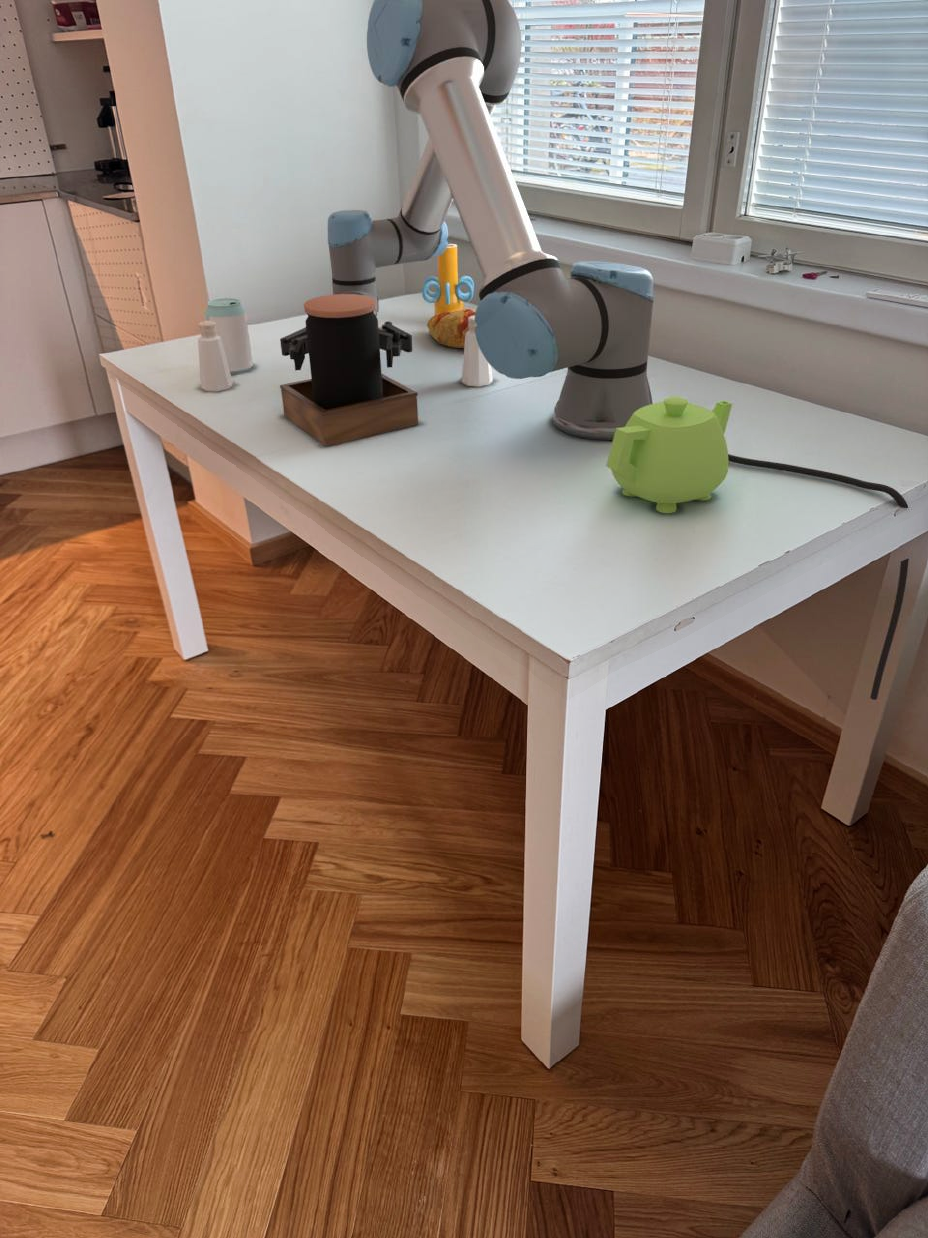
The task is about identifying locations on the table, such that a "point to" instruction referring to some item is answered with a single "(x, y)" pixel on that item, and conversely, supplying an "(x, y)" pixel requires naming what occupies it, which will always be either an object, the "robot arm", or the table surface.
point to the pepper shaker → (474, 360)
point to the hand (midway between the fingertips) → (342, 359)
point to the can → (232, 332)
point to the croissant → (451, 327)
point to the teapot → (671, 452)
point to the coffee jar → (343, 350)
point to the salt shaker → (212, 359)
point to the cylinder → (448, 284)
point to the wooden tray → (350, 412)
